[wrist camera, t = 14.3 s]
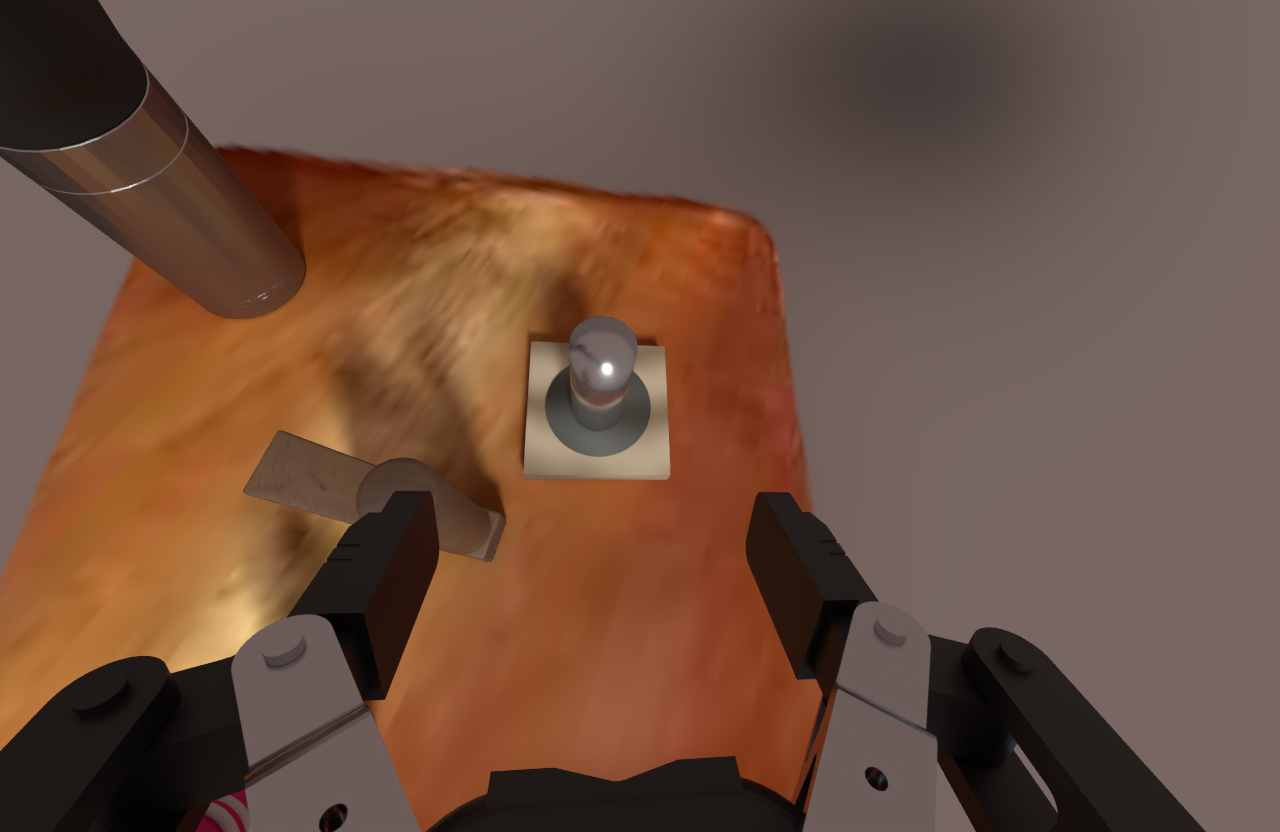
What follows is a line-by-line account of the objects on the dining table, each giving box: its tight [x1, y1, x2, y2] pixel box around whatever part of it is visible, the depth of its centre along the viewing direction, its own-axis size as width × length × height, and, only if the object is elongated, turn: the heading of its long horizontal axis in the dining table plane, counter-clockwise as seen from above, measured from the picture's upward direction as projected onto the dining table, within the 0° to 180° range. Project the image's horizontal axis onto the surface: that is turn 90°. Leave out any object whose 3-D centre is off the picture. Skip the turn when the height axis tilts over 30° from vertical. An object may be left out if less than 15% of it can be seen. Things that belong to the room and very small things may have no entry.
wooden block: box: [243, 431, 506, 562], centre depth 30 cm, size 4×11×18 cm, turn 75°
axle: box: [569, 316, 638, 432], centre depth 35 cm, size 4×4×11 cm
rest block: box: [523, 341, 670, 480], centre depth 42 cm, size 12×12×2 cm
